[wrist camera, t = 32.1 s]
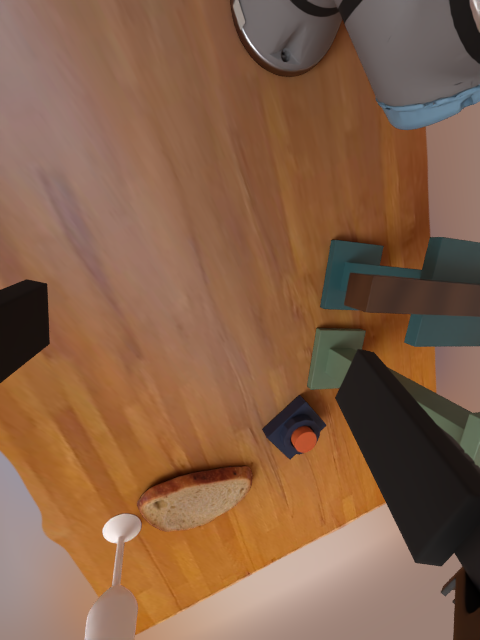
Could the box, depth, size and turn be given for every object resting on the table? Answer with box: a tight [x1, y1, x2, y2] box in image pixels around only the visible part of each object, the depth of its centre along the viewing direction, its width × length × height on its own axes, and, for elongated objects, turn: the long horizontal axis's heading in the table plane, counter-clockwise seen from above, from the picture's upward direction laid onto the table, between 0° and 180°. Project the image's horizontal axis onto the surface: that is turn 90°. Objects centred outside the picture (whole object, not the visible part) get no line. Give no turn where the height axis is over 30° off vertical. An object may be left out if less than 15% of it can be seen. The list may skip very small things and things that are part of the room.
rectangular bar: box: [344, 273, 480, 317], centre depth 30 cm, size 27×3×3 cm, turn 84°
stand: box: [307, 328, 480, 467], centre depth 42 cm, size 12×12×30 cm
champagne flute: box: [85, 514, 141, 640], centre depth 41 cm, size 7×7×24 cm
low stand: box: [320, 237, 480, 347], centre depth 42 cm, size 12×12×21 cm
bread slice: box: [137, 466, 252, 531], centre depth 53 cm, size 18×18×4 cm
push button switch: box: [262, 395, 326, 459], centre depth 55 cm, size 10×8×4 cm
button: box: [291, 426, 317, 453], centre depth 53 cm, size 4×4×2 cm
